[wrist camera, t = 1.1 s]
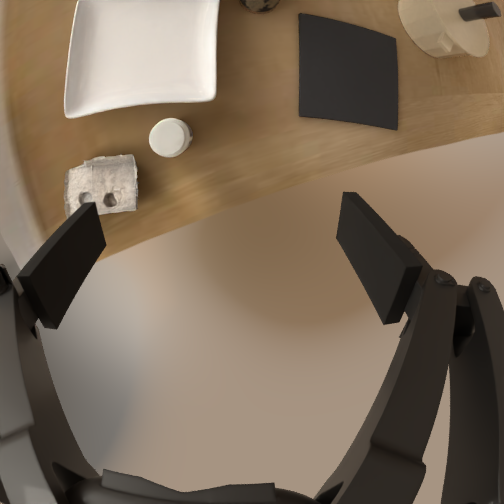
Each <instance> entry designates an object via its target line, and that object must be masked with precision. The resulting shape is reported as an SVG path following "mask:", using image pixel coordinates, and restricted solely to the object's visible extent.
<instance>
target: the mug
mask: <svg viewBox="0 0 504 504" xmlns="http://www.w3.org/2000/svg"><path fill="white" fill-rule="evenodd" d="M279 1H280V0H240V4H241V5H242V7H244V8H245V9H246V10H248V11H249V12H252V13H257V14H264V13H268V12H270V11H272V10H273V9H274V8H275V7H276V5H277V4H278V2H279Z"/></svg>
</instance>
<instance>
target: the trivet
mask: <svg viewBox="0 0 504 504" xmlns="http://www.w3.org/2000/svg"><path fill="white" fill-rule="evenodd" d="M299 116H301V117H312V118H322V119H330V120H338V121H346V122H353V123H359V124H365V125H371V126H377V127H382V128H387V129H392V130H397V128H398V64H397V48H396V38H393V37H390V36H387V35H385V34H382V33H379V32H376V31H373V30H369V29H366V28H363V27H359V26H356V25H352V24H349V23H345V22H341V21H337V20H333V19H328V18H323V17H319V16H313V15H308V14H302V13H300V14H299Z"/></svg>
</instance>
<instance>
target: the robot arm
mask: <svg viewBox="0 0 504 504" xmlns="http://www.w3.org/2000/svg"><path fill="white" fill-rule="evenodd" d="M336 239H337V240H338V242H339V244H340V245H341V247H342V249H343V250H344V252H345V254H346V256H347V257H348V259H349V261H350V263H351V264H352V266H353V268H354V270H355V272H356V273H357V275H358V277H359V279H360V281H361V282H362V284H363V286H364V288H365V290H366V292H367V294H368V296H369V298H370V299H371V301H372V303H373V305H374V307H375V309H376V311H377V313H378V315H379V317H380V319H381V321H382V323H383V325H385V324H392V323H398V322H400V320H401V318H402V315H403V313H404V311H405V312H406V314H407V316H408V321H407V322H406V325H405V327H404V328H403V331H402V332H401V335H400V336H399V337H400V338H401V339H400V342H399V345H398V347H397V350H396V353H395V355H394V358H393V360H392V363H391V365H390V368H389V370H388V372H387V375H386V377H385V380H384V382H383V384H382V386H381V388H380V391H379V393H378V395H377V397H376V399H375V401H374V403H373V406H372V407H371V409H370V411H369V413H368V415H367V417H366V420H365V421H364V423H363V425H362V427H361V429H360V431H359V432H358V434H357V436H356V438H355V440H354V441H353V443H352V445H351V446H350V448H349V450H348V451H347V453H346V455H345V456H344V458H343V460H342V461H341V463H340V464H339V466H338V467H337V469H336V470H335V471H334V473H333V474H332V475H331V476H330V477H329V479H328V480H327V481H326V482H325V484H324V485H323V486H322V488H321V489H320V491H319V492H318V493H317V495H316V496H315V497H314V499H312V498H310V497H307V496H305V495H303V494H300V493H297V492H294V491H290V490H285V489H279V488H275V484H274V483H262V484H241V485H240V484H237V485H225V486H221V487H216V488H210V489H205V490H198V491H192V492H179V491H176V490H173V489H170V488H167V487H164V486H162V485H159V484H156V483H154V482H151V481H149V480H147V479H144V478H142V477H138V476H132V475H128V474H123V473H118V472H114V471H110V470H106V469H103V475H102V476H99V474H98V473H97V472H96V471H95V469H93V467H92V466H91V465H90V464H89V463H88V462H87V461H86V459H85V458H84V456H83V454H82V452H81V450H80V448H79V446H78V444H77V442H76V440H75V438H74V436H73V433H72V431H71V429H70V426H69V424H68V422H67V419H66V417H65V414H64V412H63V409H62V407H61V404H60V401H59V399H58V396H57V393H56V390H55V387H54V384H53V381H52V378H51V375H50V371H49V368H48V365H47V361H46V357H45V354H44V350H43V346H42V342H41V338H40V333H39V329H38V327H37V326H36V324H35V323H36V321H37V319H38V318H39V319H40V321H41V323H42V324H43V326H44V328H50V329H57V328H58V327H59V325H60V323H61V321H62V319H63V317H64V315H65V313H66V311H67V309H68V308H69V306H70V304H71V302H72V300H73V299H74V297H75V295H76V293H77V292H78V290H79V288H80V286H81V285H82V283H83V282H84V280H85V278H86V277H87V275H88V273H89V272H90V270H91V268H92V267H93V265H94V264H95V262H96V260H97V259H98V257H99V256H100V254H101V253H102V251H103V250H104V248H105V247H106V242H105V238H104V234H103V231H102V227H101V223H100V219H99V215H98V211H97V207H96V202H86V203H83V204H82V205H81V206H80V207H79V208H78V209H77V210H76V211H75V212H74V213H73V214H72V215H71V216H70V217H69V218H68V219H67V220H66V221H65V222H64V223H63V224H62V225H61V226H60V227H59V228H58V229H57V230H56V231H55V232H54V233H53V234H52V236H51V237H50V238H49V239H48V240H47V241H46V242H45V243H44V244H43V245H42V246H41V248H40V249H39V250H38V251H37V252H36V253H35V254H34V256H33V257H32V258H31V259H30V260H29V262H28V263H27V264H26V265H25V266H24V268H23V269H22V270H21V271H20V273H19V274H18V275H17V276H16V278H15V279H14V280H13V282H12V280H11V278H10V276H9V274H8V272H7V270H6V268H5V265H3V264H0V504H412V503H413V501H414V499H415V497H416V495H417V493H418V491H419V489H420V487H421V484H422V482H423V479H424V476H425V473H426V465H425V464H424V463H423V462H422V457H423V454H424V451H425V448H426V446H427V443H428V440H429V437H430V434H431V431H432V428H433V425H434V422H435V418H436V415H437V411H438V408H439V404H440V400H441V397H442V393H443V388H444V384H445V380H446V375H447V370H448V365H449V373H450V432H449V446H448V456H447V465H446V473H445V479H444V485H443V492H442V498H441V504H504V310H503V307H502V305H501V302H500V299H499V297H498V294H497V292H496V289H495V288H494V286H493V285H492V284H491V283H490V281H488V280H487V279H485V278H482V277H477V276H476V277H473V278H472V280H471V281H470V284H469V286H463V285H457V282H456V280H455V279H454V278H453V277H452V276H451V275H450V274H448V273H446V272H444V271H441V270H433V268H432V267H431V266H430V265H429V264H428V263H427V261H426V260H425V259H424V258H423V257H422V256H421V254H419V252H418V251H417V250H416V249H415V248H414V246H413V245H412V244H411V243H410V242H409V241H408V240H407V239H405V238H403V237H402V236H400V235H396V233H394V231H393V230H392V229H391V228H390V227H389V226H388V225H387V224H386V223H385V221H384V220H383V219H382V218H381V217H380V216H379V215H378V214H377V213H376V212H375V211H374V210H373V209H372V208H371V207H370V206H369V205H368V204H367V203H366V202H365V201H364V200H363V199H362V198H361V197H360V196H359V195H358V194H357V193H356V192H343V196H342V203H341V210H340V217H339V223H338V230H337V236H336Z"/></svg>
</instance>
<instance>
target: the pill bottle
mask: <svg viewBox="0 0 504 504" xmlns="http://www.w3.org/2000/svg"><path fill="white" fill-rule="evenodd" d="M192 138H193V134H192V130H191V128H190V126H189V125H188V124H187V123H185V122H183V121H181V120H179V119H175V118H167V119H164V120H162V121H160V122H159V123H157V124H156V125H155V126H154V127H153V129H152V130H151V133H150V136H149V143H150V146H151V148H152V149H153V151H154V152H156V153H157V154H159V155H161V156H163V157H175V156H178V155H180V154H181V153H182V152H184V151H185V150H186V149H187V148H188V147H189V146H190V144H191V142H192Z"/></svg>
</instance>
